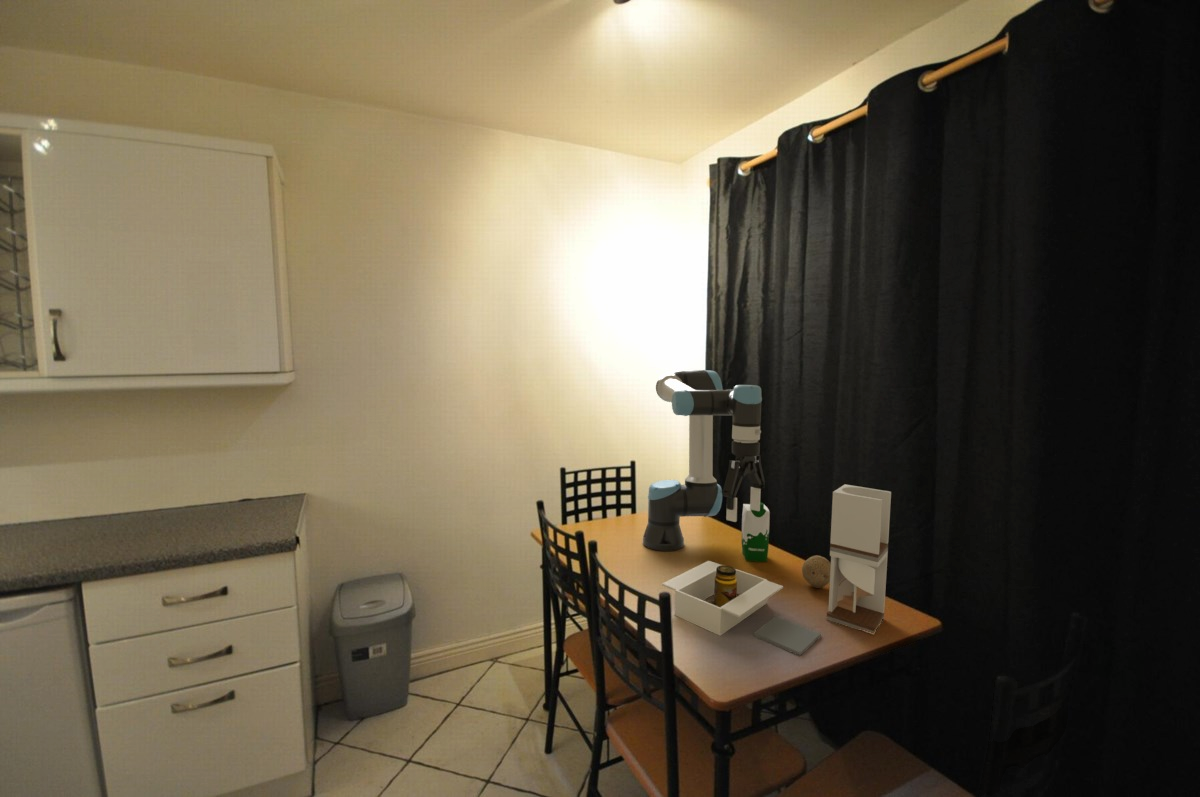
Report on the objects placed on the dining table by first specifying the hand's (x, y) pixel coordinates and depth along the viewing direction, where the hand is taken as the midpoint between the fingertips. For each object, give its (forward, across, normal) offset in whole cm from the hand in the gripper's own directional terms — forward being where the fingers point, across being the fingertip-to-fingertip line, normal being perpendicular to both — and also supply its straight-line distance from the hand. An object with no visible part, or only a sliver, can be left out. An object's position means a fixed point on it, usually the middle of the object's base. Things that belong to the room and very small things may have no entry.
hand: (743, 515), depth 145 cm
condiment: (+26, -7, +2) cm, 27 cm away
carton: (+26, -7, +2) cm, 27 cm away
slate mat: (+26, -8, -17) cm, 32 cm away
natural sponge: (+26, +24, -12) cm, 37 cm away
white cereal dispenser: (+26, +13, -27) cm, 39 cm away
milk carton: (+26, +33, +13) cm, 44 cm away
